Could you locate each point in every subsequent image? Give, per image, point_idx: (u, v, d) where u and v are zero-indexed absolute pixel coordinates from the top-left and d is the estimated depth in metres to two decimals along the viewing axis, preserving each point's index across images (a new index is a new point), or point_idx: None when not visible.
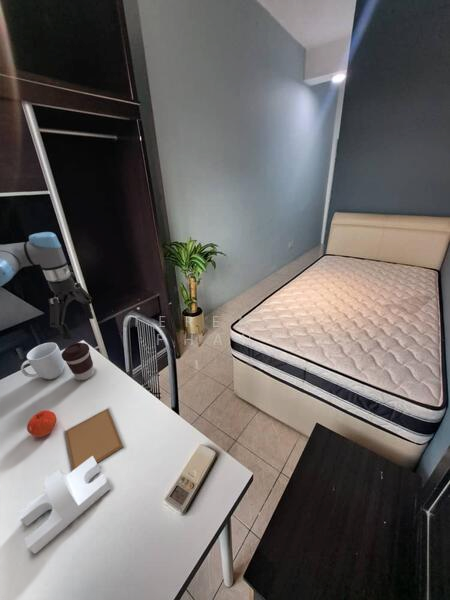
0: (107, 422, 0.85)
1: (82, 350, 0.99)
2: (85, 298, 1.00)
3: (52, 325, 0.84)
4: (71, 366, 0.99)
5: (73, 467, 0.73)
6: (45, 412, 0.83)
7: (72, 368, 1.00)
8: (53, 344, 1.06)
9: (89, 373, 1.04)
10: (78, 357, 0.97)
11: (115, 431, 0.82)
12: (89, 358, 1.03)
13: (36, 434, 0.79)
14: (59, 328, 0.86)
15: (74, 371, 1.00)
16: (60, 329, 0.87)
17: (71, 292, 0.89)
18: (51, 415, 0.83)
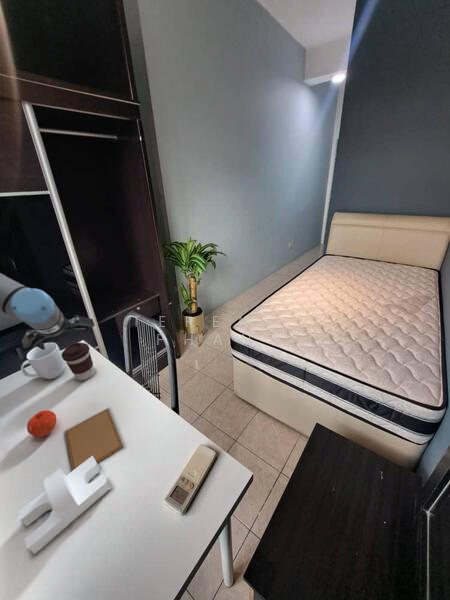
0: (107, 422, 0.85)
1: (82, 350, 0.99)
2: None
3: (22, 343, 0.76)
4: (71, 366, 0.99)
5: (73, 467, 0.73)
6: (45, 412, 0.83)
7: (72, 368, 1.00)
8: (53, 344, 1.06)
9: (89, 373, 1.04)
10: (78, 357, 0.97)
11: (115, 431, 0.82)
12: (89, 358, 1.03)
13: (36, 434, 0.79)
14: None
15: (74, 371, 1.00)
16: None
17: None
18: (51, 415, 0.83)
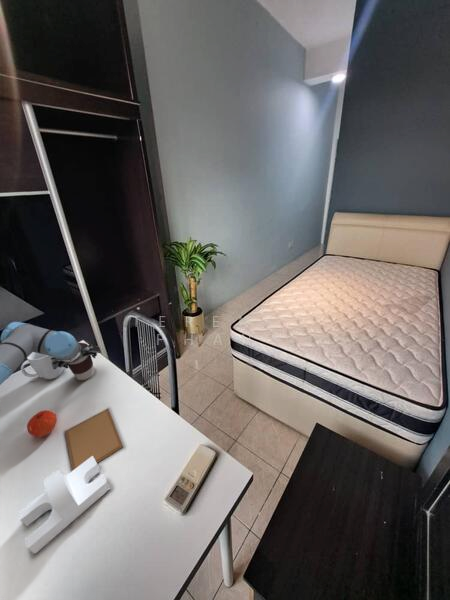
0: (107, 422, 0.85)
1: None
2: None
3: (52, 365, 0.96)
4: (71, 366, 0.99)
5: (73, 467, 0.73)
6: (45, 412, 0.83)
7: (72, 368, 1.00)
8: None
9: (89, 373, 1.04)
10: None
11: (115, 431, 0.82)
12: (89, 358, 1.03)
13: (36, 434, 0.79)
14: None
15: (74, 371, 1.00)
16: None
17: None
18: (51, 415, 0.83)
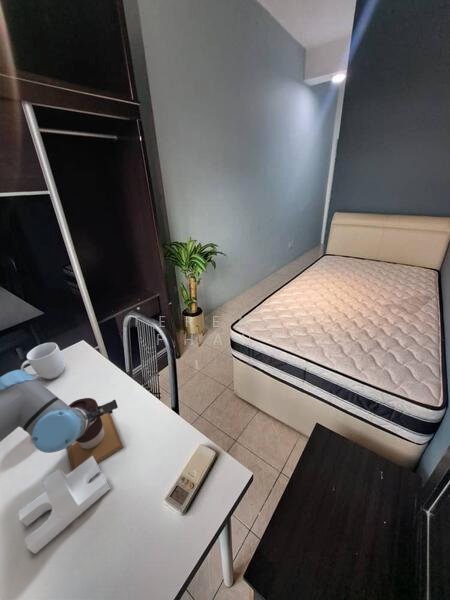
0: (107, 422, 0.85)
1: None
2: None
3: None
4: None
5: (73, 467, 0.73)
6: None
7: None
8: (53, 344, 1.06)
9: (97, 439, 0.77)
10: None
11: (115, 431, 0.82)
12: (98, 420, 0.76)
13: None
14: None
15: (78, 439, 0.74)
16: None
17: None
18: None
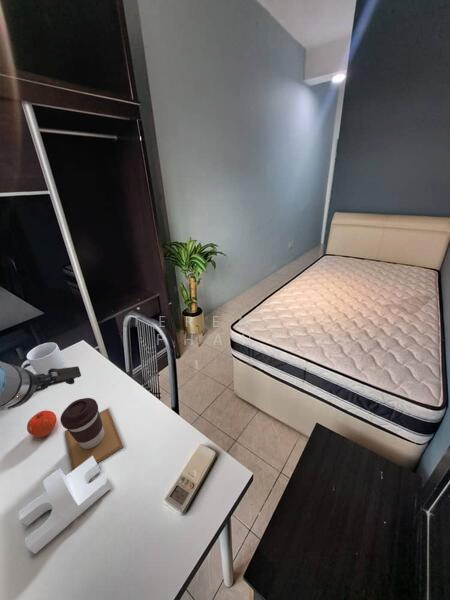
0: (107, 422, 0.85)
1: (89, 412, 0.73)
2: None
3: None
4: (74, 434, 0.72)
5: (73, 467, 0.73)
6: (45, 412, 0.83)
7: (75, 436, 0.73)
8: (53, 344, 1.06)
9: (97, 439, 0.77)
10: (83, 423, 0.71)
11: (115, 431, 0.82)
12: (98, 420, 0.76)
13: (36, 434, 0.79)
14: None
15: (78, 439, 0.74)
16: None
17: None
18: (51, 415, 0.83)
